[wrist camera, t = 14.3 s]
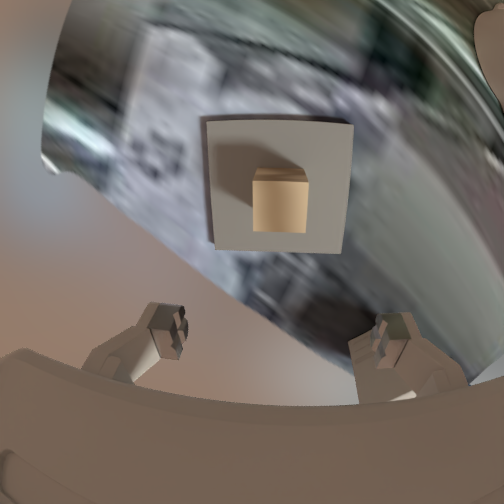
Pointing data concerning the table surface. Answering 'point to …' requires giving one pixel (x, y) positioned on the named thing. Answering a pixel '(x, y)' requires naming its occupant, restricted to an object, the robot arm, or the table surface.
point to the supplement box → (375, 375)
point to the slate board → (279, 156)
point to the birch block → (280, 200)
